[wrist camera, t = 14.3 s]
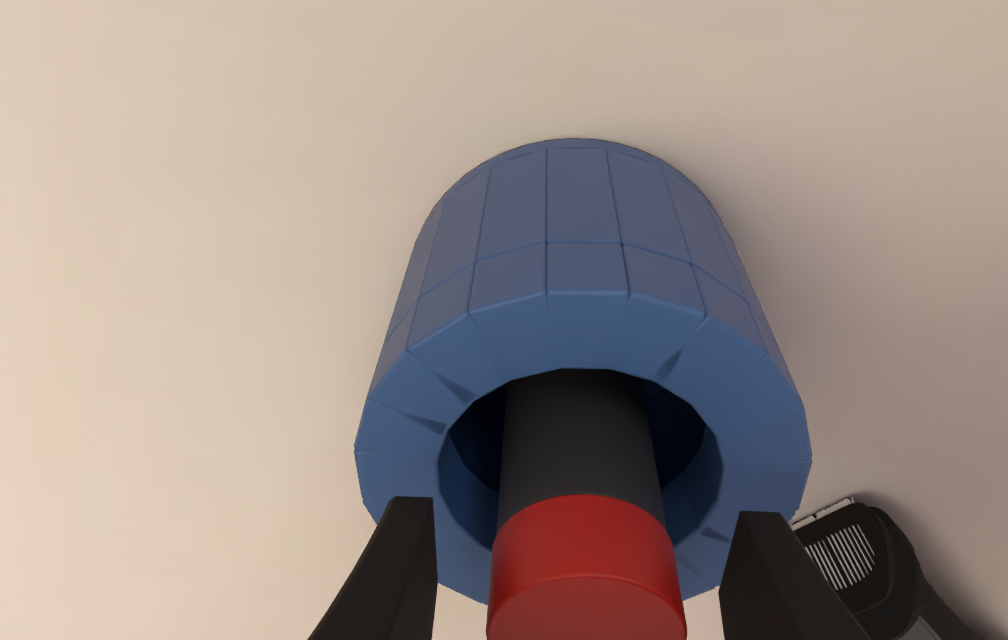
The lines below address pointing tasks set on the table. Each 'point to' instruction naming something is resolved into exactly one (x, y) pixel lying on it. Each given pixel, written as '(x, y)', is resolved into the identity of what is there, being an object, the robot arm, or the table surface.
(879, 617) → the electric trimmer
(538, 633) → the marker
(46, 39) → the table surface
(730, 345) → the blue cylindrical cup
